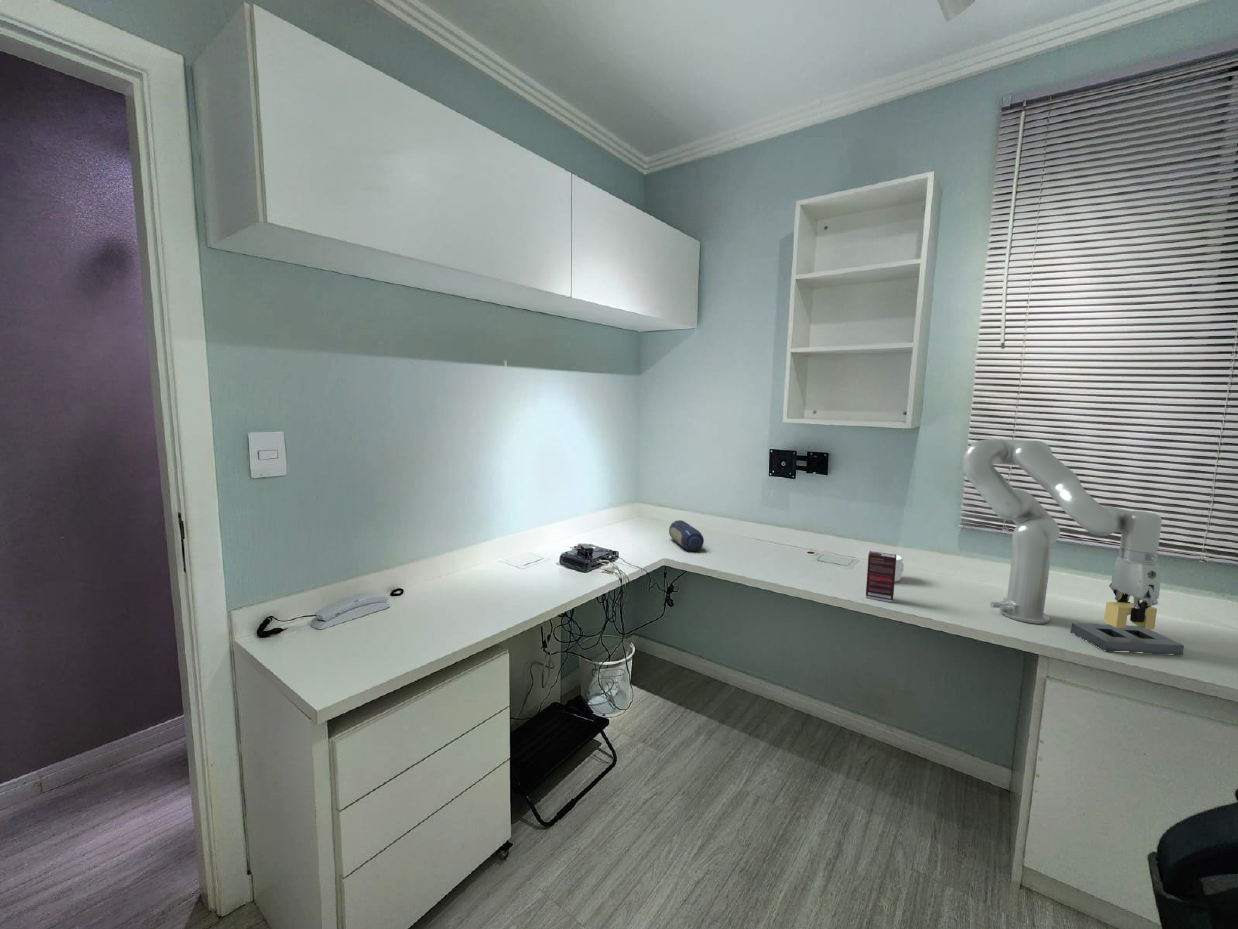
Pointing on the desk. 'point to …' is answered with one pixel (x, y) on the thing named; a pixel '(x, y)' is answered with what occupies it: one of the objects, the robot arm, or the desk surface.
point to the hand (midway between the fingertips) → (1129, 617)
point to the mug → (898, 567)
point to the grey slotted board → (1126, 639)
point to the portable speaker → (686, 535)
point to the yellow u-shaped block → (1119, 612)
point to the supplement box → (881, 576)
